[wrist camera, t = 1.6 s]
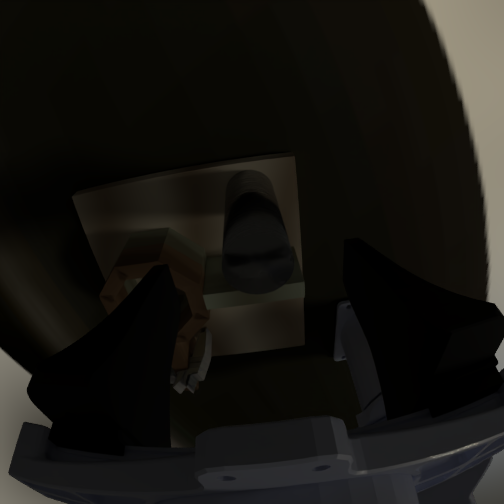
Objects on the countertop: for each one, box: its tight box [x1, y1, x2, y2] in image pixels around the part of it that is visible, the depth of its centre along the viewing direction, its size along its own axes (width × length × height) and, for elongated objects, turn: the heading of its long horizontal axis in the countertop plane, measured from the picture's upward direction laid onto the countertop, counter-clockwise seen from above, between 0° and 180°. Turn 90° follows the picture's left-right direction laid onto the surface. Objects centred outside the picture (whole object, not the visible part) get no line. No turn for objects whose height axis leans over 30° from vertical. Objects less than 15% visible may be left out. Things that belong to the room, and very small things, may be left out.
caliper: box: [170, 327, 212, 394], centre depth 26 cm, size 20×1×6 cm, turn 113°
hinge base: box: [72, 152, 305, 391], centre depth 22 cm, size 15×17×5 cm
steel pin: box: [222, 170, 294, 294], centre depth 17 cm, size 3×3×8 cm
